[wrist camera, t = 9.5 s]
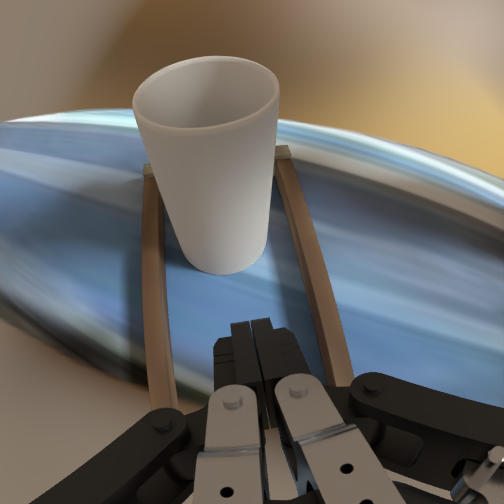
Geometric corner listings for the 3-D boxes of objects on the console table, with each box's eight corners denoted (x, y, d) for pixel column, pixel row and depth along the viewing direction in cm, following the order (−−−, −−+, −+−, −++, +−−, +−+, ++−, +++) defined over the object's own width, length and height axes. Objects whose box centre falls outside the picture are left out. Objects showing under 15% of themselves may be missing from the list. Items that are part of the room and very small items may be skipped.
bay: (284, 164, 33) (287, 145, 31) (346, 390, 22) (359, 388, 20) (150, 182, 32) (143, 164, 29) (162, 420, 21) (151, 421, 18)
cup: (264, 278, 27) (279, 133, 13) (173, 271, 27) (109, 134, 13) (268, 202, 31) (280, 57, 17) (188, 198, 31) (156, 59, 17)
